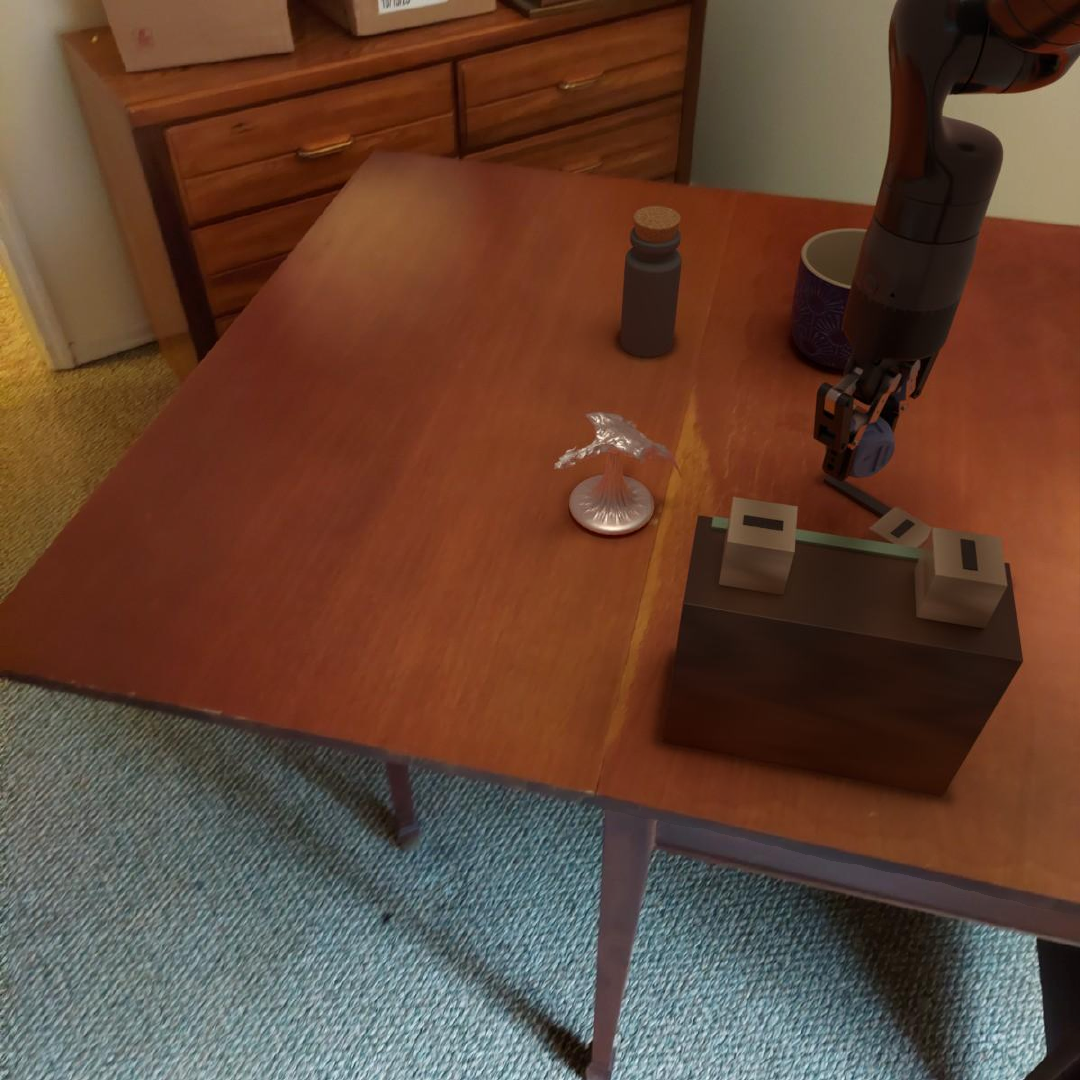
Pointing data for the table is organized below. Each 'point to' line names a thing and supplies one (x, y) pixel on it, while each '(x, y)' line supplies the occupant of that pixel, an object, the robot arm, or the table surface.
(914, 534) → the beige cubes with bar
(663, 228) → the bottle
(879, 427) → the decorative dice
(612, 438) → the figurine
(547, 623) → the table surface
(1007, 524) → the table surface
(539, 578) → the table surface
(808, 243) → the planter
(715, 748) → the dark brown block
